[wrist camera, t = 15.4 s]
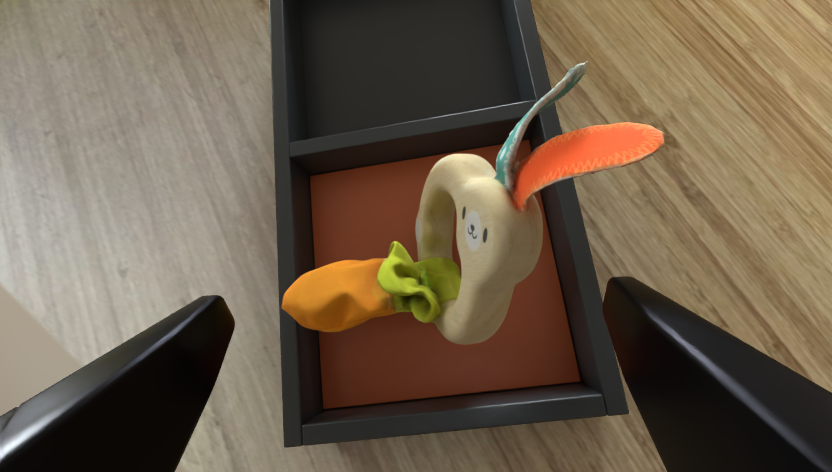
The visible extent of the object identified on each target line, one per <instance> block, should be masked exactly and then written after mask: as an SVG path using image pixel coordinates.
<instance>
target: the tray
mask: <svg viewBox="0 0 832 472" xmlns="http://www.w3.org/2000/svg"><path fill="white" fill-rule="evenodd" d="M269 11H270V41H271V71H272V100H273V130H274V160H275V190H276V220H277V250H278V280H279V310H280V339H281V369H282V399H283V429H284V447H286V448H287V447H297V446H302V445H305V446H307V445H317V444H327V443H337V442H347V441H358V440H368V439H378V438H388V437H398V436H408V435H419V434H429V433H439V432H449V431H459V430H469V429H479V428H490V427H500V426H510V425H520V424H530V423H540V422H551V421H561V420H571V419H581V418H591V417H601V416H606V415H608V416H613V415H623V414H629V410H628V406H627V402H626V398H625V393H624V389H623V385H622V381H621V377H620V373H619V368H618V364H617V360H616V356H615V352H614V348H613V343H612V340H611V337H610V334H609V331H608V328H607V325H606V322H605V319H604V316H603V309H602V308H603V302H602V298H601V293H600V289H599V285H598V281H597V277H596V273H595V269H594V264H593V260H592V256H591V252H590V248H589V244H588V239H587V235H586V231H585V227H584V223H583V219H582V214H581V210H580V206H579V202H578V198H577V194H576V189H575V185H574V181H573V177H572V178H568V179H565V180H562V181H559V182H556V183H554V184H552V185H549V186H546V187H545V188H543V189H542V190H540V191H538V192H536V193H535V194H534V196H535V198H536V200H537V202H538V205H539V208H540V211H541V214H542V221H543V241H542V247H541V252H540V255H539V258H538V262H537V264H536V266H535V268H534V269H533V271H532V272H531V273H530V274H529V275H528V276H527V277H526V278H525V279H524V280H522V281H521V282H519V283H517V284H516V285H515V287H514V290H513V294H512V298H511V302H510V305H509V308H508V311H507V314H506V316H505V319H504V321H503V323H502V324H501V326H500V327H499V329H498V330H497V331H496V332H495V334H494V335H492V336H491V337H490V338H489V339H487V340H486V341H483V342H481V343H475V344H467V345H463V344H456V343H453V342H450V341H449V340H447V339H446V338H445V337H444V336H443V335H442V334H441V332H440V331H439V330H438V328H437V326H436V325H435V323H432V322H429V323H424V322H421V321H419V320H418V319H416V318H415V317H414V314H413V312H397V313H394V314H391V315H386V316H380V317H374V318H370V319H368V320H367V321H365V322H364V323H361V324H359V325H357V326H355V327H352V328H349V329H347V330H344V331H340V332H323V331H320V330H313V329H309V328H305V327H303V326H302V325H300V324H299V323H298V322H297V321H296V320H295V319H294V318H293V317H292V316H291V315H289V314H288V313H287V312H286V311H284V310H283V309H282V308H281V307H282V302H283V297H284V294H285V292H286V291H287V290H288V288H289V287H290V286H291V285H292V284H293V283H294V282H295V281H296V280H297V279H298V278H299V277H300V276H302V275H303V274H305V273H307V272H309V271H312V270H315V269H317V268H320V267H323V266H325V265H328V264H331V263H334V262H338V261H343V260H360V261H365V260H369V259H373V258H381V259H384V258H386V259H387V258H388V257H389V248H390V246H391V243H392V242H395V241H396V242H399V243H400V244H401V245H402V246H403V247H404V248H405V249H406V251H407V252H408V254H409V256H410V257H411V259H412V260H413V262H414V263H416V262H418V249H417V241H416V232H415V226H416V218H417V215H418V212H419V207H420V201H421V196H422V192H423V189H424V186H425V183H426V180H427V177H428V175H429V173H430V171H431V170H432V168H433V167H434V165H435V164H436V163H437V162H438V161H439V160H440V159H442V158H444V157H446V156H448V155H452V154H473V155H477V156H479V157H482V158H483V159H485V160H486V161H487V162H489V164H490V165H491V166H492V167H493V169H494V170H495V172H496V159H497V156H498V154H499V152H500V150H501V148H502V147H503V145H504V143H505V142H506V140H507V138H508V137H509V134H510V133H511V132H512V131H513V129H514V128H515V126H516V125H517V123H518V122H519V121H520V120H521V119H522V118H523V117H524V116H525V115H526V114H527V112H528V111H529V110H530V109H531V108H532V107H533V106H534V105H535V104H536V103H537V102H538V101H539V100H540V99H541V98H542V97H543V96H545V95H546V94H547V93H548V92H549V91H551V85H550V81H549V77H548V73H547V69H546V65H545V60H544V56H543V52H542V48H541V44H540V40H539V36H538V31H537V27H536V23H535V19H534V15H533V11H532V6H531V2H530V0H269ZM558 135H562V131H561V127H560V123H559V119H558V115H557V110H556V106H555V102H554V103H552V104H551V105H549V106H548V107H546V108H545V109H543V110H542V111H541V112H539V113H538V114H537V115H535V116H534V117H533V118H532V119H531V121H530V122H529V124H528V126H527V128H526V130H525V132H524V134H523V137H522V140H521V142H520V144H519V147H518V149H517V153H516V156H515V161H514V162H513V164H512V168H514V165H515V163H516V162H517V161H518V162H521V161H522V160H524V159H525V158H527V157H528V156H529V155H530V154H531V153H532V152H533V151H534V150H535V148H537V147H539V146H540V145H542V144H544V143H545V142H546V141H548V140H550V139H552V138H554V137H556V136H558ZM453 226H454V234H453V242H452V257H453V261H454V262H455V263H456V264H457V265H458V267H459V270H460V275H462V268H461V260H460V255H459V251H458V247H457V238H456V228H457V212H456V208H455V212H454V219H453Z"/></svg>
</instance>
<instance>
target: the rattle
mask: <svg viewBox="0 0 832 472" xmlns="http://www.w3.org/2000/svg"><path fill="white" fill-rule="evenodd" d="M587 62H588V61H587ZM587 62H585V63H580V64H577V65H576V66H575V67H574V68H570V70H569V71H568V72H567V74H566V76H565V77H564V78H563V79H562V80H561V81H560V82H559V83H558V84H557V85H556V86H555V87H554V88H553V89H552V90H551V91H549V92H548V93H547V94H546V95H545V96H543V97H542V98H541V99H540V100H539V101H538V102H537V103H536V104H535V105H534V106H533V107H532V108H531V109H530V110H529V111H528V112H527V114H526V115H525V116H524V117H523V118H522V119H521V120H520V121H519V122H518V123H517V125H516V126H515V128H514V129H513V131H512V132H511V133H510V134H509V137H508V138H507V140H506V142H505V143H504V145H503V147H502V148H501V150H500V152H499V154H498V156H497V159H496V172H495V170H494V169H493V167H492V166H491V165H490V164H489V162H487V161H486V160H485V159H483V158H482V157H479V156H477V155H473V154H452V155H448V156H446V157H444V158H442V159H440V160H439V161H438V162H437V163H436V164H435V165H434V167H433V168H432V170H431V171H430V173H429V175H428V177H427V180H426V183H425V186H424V189H423V192H422V196H421V201H420V207H419V212H418V215H417V218H416V226H415V232H416V241H417V249H418V262H416V263H414V262H413V260H412V259H411V257H410V256H409V254H408V252H407V251H406V249H405V248H404V247H403V246H402V245H401V244H400V243H399V242H396V241H395V242H392V243H391V246H390V248H389V257H388V258H387V259H386V258H384V259H381V258H373V259H369V260H365V261H360V260H343V261H338V262H334V263H331V264H328V265H325V266H323V267H320V268H317V269H315V270H312V271H309V272H307V273H305V274H303V275H302V276H300V277H299V278H298V279H297V280H296V281H295V282H294V283H293V284H292V285H291V286H290V287H289V288H288V290H287V291H286V292H285V294H284V297H283V302H282V307H281V308H282V309H283V310H284V311H286V312H287V313H288V314H289V315H291V316H292V317H293V318H294V319H295V320H296V321H297V322H298V323H299V324H300V325H302V326H303V327H305V328H309V329H313V330H320V331H323V332H340V331H344V330H347V329H349V328H352V327H355V326H357V325H359V324H361V323H364V322H365V321H367V320H368V319H370V318H374V317H380V316H386V315H391V314H394V313H397V312H413V314H414V317H415V318H416V319H418V320H419V321H421V322H424V323H429V322H432V323H435V325H436V326H437V328H438V330H439V331H440V332H441V334H442V335H443V336H444V337H445V338H446V339H447V340H449V341H450V342H453V343H456V344H463V345H467V344H475V343H481V342H483V341H486V340H487V339H489V338H490V337H491V336H492V335H494V334H495V332H496V331H497V330H498V329H499V327H500V326H501V324H502V323H503V321H504V319H505V316H506V314H507V311H508V308H509V305H510V302H511V298H512V294H513V290H514V287H515V285H516V284H517V283H519V282H521V281H522V280H524V279H525V278H526V277H527V276H528V275H529V274H530V273H531V272H532V271H533V269H534V268H535V266H536V264H537V262H538V258H539V255H540V252H541V247H542V241H543V221H542V214H541V211H540V208H539V205H538V202H537V200H536V198H535V196H534V194H535V193H536V192H538V191H540V190H542V189H543V188H545V187H546V186H549V185H552V184H554V183H556V182H559V181H562V180H565V179H568V178H572V177H580V176H583V175H587V174H594V173H595V172H599V171H602V170H608V169H613V168H618V167H624V166H626V165H630V164H632V163H635V162H638V161H641V160H644V159H646V158H648V157H650V156H652V155H653V154H654V153H656V152H658V150H659V149H660V148H662V147H664V146H665V142H664V136H663V132H662V131H659V130H657V129H656V128H654V127H652V126H650V125H645V124H638V123H631V122H625V123H614V124H610V125H596V126H589V127H585V128H582V129H576V130H573V131H571V132H568V133H565V134H562V135H558V136H556V137H554V138H552V139H550V140H548V141H546V142H545V143H544V144H542V145H540V146H539V147H537V148H535V150H534V151H533V152H532V153H531V154H530V155H529V156H528V157H527V158H525V159H524V160H522V161H521V162H518V161H517V162H516V163H515V165H514V168H512V164H513V162H514V161H515V156H516V153H517V149H518V147H519V144H520V142H521V140H522V137H523V134H524V132H525V130H526V128H527V126H528V124H529V122H530V121H531V119H532V118H533V117H534V116H535V115H537V114H538V113H539V112H541V111H542V110H543V109H545V108H546V107H548V106H549V105H551V104H552V103H554V102H555V101H557V100H558V99H559V98H561V97H562V96H564V95H565V94H566V93H567V92H568V91H570V90H571V89H572V88H573V87H574V86H575V84H576V83H577V82H578V81H579V80H580V79H581V77H582V76H583V75H584V74H585V73H584V71H585V69H586V67H587V65H586V64H587ZM455 208H456V212H457V228H456V238H457V247H458V251H459V255H460V260H461V268H462V275H460V270H459V267H458V265H457V264H456V263H455V262H454V261H453V257H452V242H453V234H454V226H453V219H454V212H455Z"/></svg>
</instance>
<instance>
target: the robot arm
mask: <svg viewBox="0 0 832 472" xmlns="http://www.w3.org/2000/svg"><path fill="white" fill-rule="evenodd" d="M602 309H603V316H604V319H605V322H606V325H607V328H608V331H609V334H610V337H611V340H612V343H613V346H614V349H615V352H616V355H617V358H618V361H619V364H620V367H621V370H622V373H623V375H624V378H625V381H626V383H627V385H628V388H629V390H630V392H631V395H632V397H633V399H634V401H635V403H636V405H637V407H638V410H639V412H640V414H641V416H642V418H643V420H644V423H645V425H646V427H647V429H648V431H649V433H650V436H651V438H652V440H653V442H654V444H655V446H656V448H657V451H658V453H659V455H660V457H661V459H662V461H663V464H664V466H665V468H666V470H667V472H832V393H831V392H829V391H827V390H826V389H824V388H822V387H821V386H819V385H817V384H815V383H814V382H812V381H810V380H809V379H807V378H805V377H803V376H802V375H800V374H798V373H797V372H795V371H793V370H791V369H790V368H788V367H786V366H784V365H783V364H781V363H779V362H778V361H776V360H774V359H772V358H771V357H769V356H767V355H766V354H764V353H762V352H760V351H759V350H757V349H755V348H754V347H752V346H750V345H748V344H747V343H745V342H743V341H741V340H740V339H738V338H736V337H735V336H733V335H731V334H729V333H728V332H726V331H724V330H723V329H721V328H719V327H717V326H716V325H714V324H712V323H711V322H709V321H707V320H705V319H704V318H702V317H700V316H698V315H697V314H695V313H693V312H692V311H690V310H688V309H686V308H685V307H683V306H681V305H680V304H678V303H676V302H674V301H673V300H671V299H669V298H668V297H666V296H664V295H662V294H661V293H659V292H657V291H655V290H654V289H652V288H650V287H649V286H647V285H645V284H643V283H642V282H640V281H638V280H637V279H635V278H633V277H629V276H625V277H612V278H610V279H609V281H608V284H607V288H606V293H605V297H604V301H603V308H602ZM234 327H235V321H234V318H233V316H232V314H231V312H230V310H229V308H228V306H227V304H226V302H225V301H224V299H223V298H222V297H221V296H218V295H210V296H202V297H200V298H198V299H196V300H195V301H193V302H191V303H190V304H188V305H186V306H185V307H183V308H181V309H180V310H178V311H176V312H175V313H173V314H171V315H170V316H168V317H166V318H165V319H163V320H161V321H160V322H158V323H156V324H154V325H153V326H151V327H149V328H148V329H146V330H144V331H143V332H141V333H139V334H138V335H136V336H134V337H133V338H131V339H129V340H128V341H126V342H124V343H123V344H121V345H119V346H118V347H116V348H114V349H113V350H111V351H109V352H108V353H106V354H104V355H103V356H101V357H99V358H97V359H96V360H94V361H92V362H91V363H89V364H87V365H86V366H84V367H82V368H81V369H79V370H77V371H76V372H74V373H72V374H71V375H69V376H67V377H66V378H64V379H62V380H61V381H59V382H57V383H56V384H54V385H52V386H51V387H49V388H47V389H46V390H44V391H42V392H40V393H39V394H37V395H35V396H34V397H32V398H30V399H29V400H27V401H25V402H24V403H22V404H21V405H20V406H19V407H15V408H14V409H12V410H10V411H8V412H7V413H6V414H3V415H2V416H0V472H175V470H176V468H177V466H178V464H179V462H180V459H181V457H182V455H183V453H184V451H185V449H186V446H187V444H188V442H189V440H190V438H191V436H192V433H193V431H194V429H195V427H196V425H197V423H198V420H199V418H200V416H201V414H202V412H203V410H204V407H205V405H206V403H207V401H208V399H209V397H210V394H211V392H212V390H213V387H214V385H215V382H216V380H217V377H218V374H219V371H220V368H221V365H222V363H223V360H224V357H225V354H226V351H227V348H228V345H229V343H230V340H231V337H232V334H233V331H234Z"/></svg>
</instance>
